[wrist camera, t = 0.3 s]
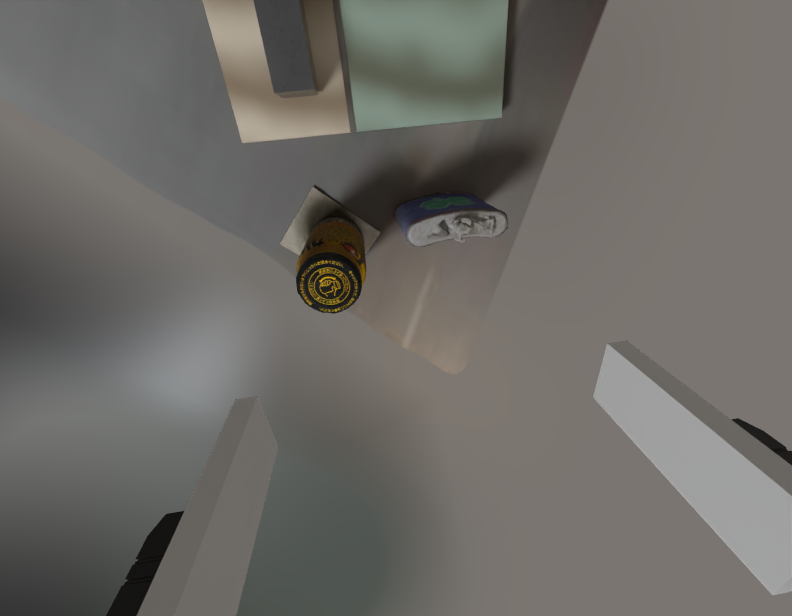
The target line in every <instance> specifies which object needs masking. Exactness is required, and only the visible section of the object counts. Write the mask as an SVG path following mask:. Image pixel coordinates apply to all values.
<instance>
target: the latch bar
mask: <svg viewBox="0 0 792 616" xmlns="http://www.w3.org/2000/svg"><path fill="white" fill-rule="evenodd" d="M253 1H254V6H255V10H256V15H257V19H258V24H259V28H260V33H261V37H262V42H263V46H264V50H265V55H266V59H267V64H268V68H269V73H270V77H271V82H272V86H273V91H274V93H275V94H276V95H278V96H280V97H282V98H292V97H303V96H314V95H319V94H318V88H317V82H316V76H315V70H314V64H313V58H312V52H311V46H310V41H309V35H308V29H307V23H306V17H305V11H304V5H303V0H253Z"/></svg>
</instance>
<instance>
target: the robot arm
mask: <svg viewBox="0 0 792 616" xmlns="http://www.w3.org/2000/svg"><path fill="white" fill-rule="evenodd" d="M593 398H594V399H595V400H596V401H597V402H598V403H599V404H600V405H601V406H602V408H603V409H604V410H605V411H606V412H607V413H608V414H609V415H610V416H611V418H612V419H613V420H614V421H615V422H616V423H617V424H618V425H619V426H620V427H621V428H622V430H623V431H624V432H625V433H626V434H627V435H628V436H629V437H630V439H631V440H632V441H633V442H634V443H635V444H636V445H637V446H638V447H639V448H640V450H641V451H642V452H643V453H644V454H645V455H646V456H647V457H648V458H649V459H650V461H651V462H652V463H653V464H654V465H655V466H656V467H657V468H658V469H659V470H660V472H661V473H662V474H663V475H664V476H665V477H666V478H667V479H668V480H669V482H670V483H671V484H672V485H673V486H674V487H675V488H676V489H677V490H678V491H679V493H680V494H681V495H682V496H683V497H684V498H685V499H686V500H687V501H688V503H689V504H690V505H691V506H692V507H693V508H694V509H695V510H696V511H697V512H698V513H699V515H700V516H701V517H702V518H703V519H704V520H705V521H706V522H707V523H708V525H709V526H710V527H711V528H712V529H713V530H714V531H715V532H716V533H717V534H718V536H719V537H720V538H721V539H722V540H723V541H724V542H725V543H726V544H727V546H728V547H729V548H730V549H731V550H732V551H733V552H734V553H735V554H736V555H737V557H738V558H739V559H740V560H741V561H742V562H743V563H744V564H745V565H746V566H747V568H748V569H749V570H750V571H751V572H752V573H753V574H754V575H755V576H756V577H757V579H758V580H759V581H760V582H761V583H762V584H763V585H764V586H765V587H766V589H767V590H768V591H769V592H770V593H771V594H772V595H776V594H781V593H786V592H791V591H792V451H788V450H787V449H786V447H785V446H783V445H782V444H781V443H779V442H778V441H777V440H775V439H774V438H772V437H771V436H770V435H768V434H767V433H765V432H764V431H762V430H760V429H758V428H756V427H754V426H752V425H750V424H748V423H746V422H744V421H742V420H740V419H732V420H731V419H729V418H728V417H727V416H726V415H724V414H723V413H722V412H720V411H719V410H718V409H716V408H715V407H714V406H712V405H711V404H710V403H708V402H707V401H706V400H704V399H703V398H702V397H700V396H699V395H698V394H696V393H695V392H694V391H693V390H691V389H690V388H689V387H687V386H686V385H685V384H683V383H682V382H680V381H679V380H678V379H677V378H675V377H674V376H673V375H671V374H670V373H669V372H667V371H666V370H665V369H663V368H662V367H661V366H660V365H658V364H657V363H656V362H654V361H653V360H651V359H650V358H649V357H648V356H646V355H645V354H644V353H642V352H641V351H640V350H638V349H637V348H636V347H634V346H633V345H632V344H630V343H629V342H628V341H621V342H615V343H608V344H607V347H606V351H605V355H604V358H603V362H602V366H601V370H600V374H599V377H598V381H597V385H596V389H595V393H594V397H593ZM277 450H278V446H277V443H276V441H275V438H274V436H273V433H272V431H271V429H270V426H269V424H268V421H267V419H266V417H265V414H264V412H263V410H262V407H261V404H260V402H259V400H258V397H257V396H255V397H248V398H242V399H236V400H235V402H234V404H233V406H232V409H231V411H230V413H229V415H228V417H227V419H226V421H225V424H224V426H223V428H222V430H221V432H220V434H219V437H218V439H217V441H216V443H215V445H214V448H213V450H212V452H211V455H210V456H209V459H208V461H207V463H206V465H205V467H204V469H203V472H202V474H201V476H200V478H199V480H198V483H197V485H196V487H195V489H194V491H193V493H192V496H191V498H190V500H189V502H188V505H187V507H186V509H185V511H181V512H176V513H170V514H166V515H165V516H164V517H163V518H162V520H161V521H160V522H159V523H158V524H157V526H156V527H155V528H154V529H153V530H152V531H151V533H150V534H149V535H148V536H147V538H146V540H145V542H144V544H143V547H142V548H141V550H140V552H139V554H138V556H137V558H136V562H135V564H134V565H132V567H131V569H130V571H129V573H128V575H127V577H126V579H125V584H124V585H123V586H121V589H120V590H119V593H118V594H117V596H116V598H115V600H114V602H113V604H112V606H111V608H110V609H109V612H108V613H107V615H106V616H236V614H237V610H238V606H239V602H240V598H241V594H242V590H243V586H244V582H245V578H246V574H247V570H248V566H249V562H250V558H251V554H252V550H253V546H254V542H255V538H256V534H257V530H258V526H259V522H260V518H261V514H262V510H263V506H264V502H265V498H266V494H267V490H268V486H269V482H270V478H271V474H272V470H273V466H274V462H275V458H276V454H277Z"/></svg>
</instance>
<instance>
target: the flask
mask: <svg viewBox="0 0 792 616" xmlns="http://www.w3.org/2000/svg"><path fill="white" fill-rule="evenodd" d="M396 219H397V221H398V222H399V224H400V226H401V228H402V230H403V232H404V234H405V236H406V240H407V241H408V242H409V243H410V244H411V245H413V246H415V247H425V246H428V245H431V244H434V243H436V242H440V241H445V240H451V239H455V240H456V241H460V242H462V243H463V242H465V240H466V239H462V238H464V237H486V238H493V237H498V236H500V235H501V234H502V233H503V232H504V231H505V230H506V229H507V228H508V219H507V215H506V214H505V213H504V212H503V211H501V210H498V209H496V208H494V207H493V206H491V205H489V204H487V203H485V202H484V201H482V200H480V199H478V198H477V197H475V196H474V195H472V194H470V193H466V192H443V193H436V194H434V195H428V196H424V197H421V198H416V199H413V200H409V201H407V202H405V203H402V204H401V205H400V206H399V207H398V209H397V210H396Z"/></svg>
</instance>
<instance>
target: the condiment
mask: <svg viewBox="0 0 792 616" xmlns="http://www.w3.org/2000/svg"><path fill="white" fill-rule="evenodd" d="M332 213H334V215H332ZM380 233H381V232H379V231H378V230H376V229H375V228H373V227H372V226H370V225H369V224H367V223H366V222H364V221H363V220H362V219H360V218H359V217H357V216H356V215H354V214H353V213H351V212H350V211H348V210H347V209H345V208H343V207H342V206H340V205H339V204H338V203H336V202H335V201H333V200H332V199H330V198H329V197H327V196H326V195H324V194H323V193H321V192H320V191H318V190H317V189H315V188H314V187H312V189H311V191H310V192H309V194H308V196H307V198H306V200H305V201H304V203H303V205H302V207H301V208H300V210H299V212H298V214H297V215H296V217H295V219H294V221H293V222H292V224H291V226H290V228H289V229H288V231H287V233H286V235H285V236H284V238H283V240H282V242H281V243H280V244H281V245H282V246H284V247H286V248H287V249H289V250H291V251H293V252H294V253H296V254H297V255H300V257H299V260H298V263H297V277H296V283H297V291H298V294H299V295H300V296H301V298H302V299H303V300H304V302H305V303H306V304H307V305H308V306H310V307H312V308H313V309H315V310H318V311H320V312H323V313H327V312H328V313H338V312H341V311H343V310H346V309H347V308H349V307H350V306H351V305H353V304H354V303H355V302H356V300H357V299H358V297H359V296H360V293H361V289H362V286H363V283H364V281H365V276H366V261H365V259H366V258H365V255H366V253H367V252H368V250H369V249H370V247H371V246H372V245H373V243H374V242H375V240H376V239H377V237H378V236H379V235H380ZM305 236H307V239H306V238H305Z"/></svg>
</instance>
